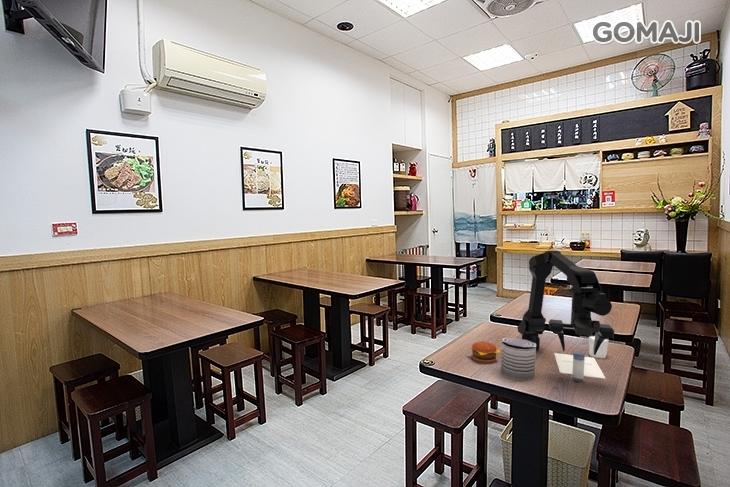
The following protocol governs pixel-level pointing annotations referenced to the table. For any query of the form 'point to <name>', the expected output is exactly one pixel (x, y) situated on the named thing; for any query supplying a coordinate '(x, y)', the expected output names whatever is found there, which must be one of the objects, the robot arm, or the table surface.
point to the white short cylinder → (602, 349)
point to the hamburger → (484, 352)
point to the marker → (578, 366)
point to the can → (518, 359)
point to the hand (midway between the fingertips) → (578, 352)
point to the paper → (589, 366)
